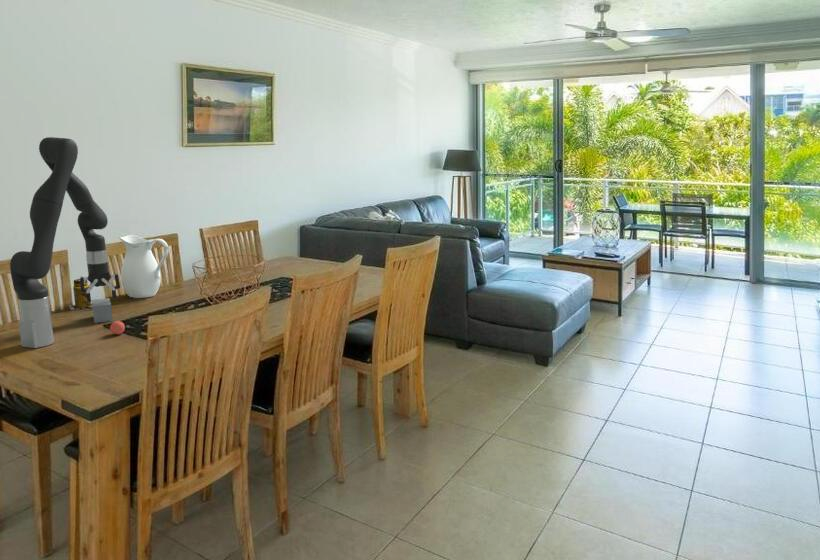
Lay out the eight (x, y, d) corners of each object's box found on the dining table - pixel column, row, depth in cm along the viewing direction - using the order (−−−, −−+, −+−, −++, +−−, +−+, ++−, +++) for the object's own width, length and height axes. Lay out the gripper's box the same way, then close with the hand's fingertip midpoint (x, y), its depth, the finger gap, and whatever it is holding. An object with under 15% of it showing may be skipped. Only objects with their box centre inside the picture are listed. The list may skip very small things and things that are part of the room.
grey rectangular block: (112, 321, 250) (110, 304, 249) (94, 323, 247) (92, 306, 245) (110, 314, 259) (109, 298, 258) (93, 316, 256) (91, 299, 255)
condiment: (92, 307, 270) (90, 280, 267) (70, 310, 265) (67, 282, 263) (90, 303, 276) (87, 277, 273) (69, 306, 271) (65, 279, 269)
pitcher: (114, 298, 285) (108, 238, 279) (140, 290, 301) (135, 233, 295) (158, 302, 279) (153, 241, 272) (182, 294, 294) (178, 235, 288)
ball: (118, 336, 231) (117, 323, 229) (107, 335, 232) (106, 322, 231) (128, 332, 235) (127, 320, 234) (117, 331, 237) (116, 319, 235)
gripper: (77, 264, 241) (82, 305, 245) (117, 261, 248) (121, 300, 252) (77, 261, 248) (82, 300, 252) (116, 258, 254) (120, 296, 258)
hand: (102, 300), depth 252 cm, fingers open, 8 cm apart
